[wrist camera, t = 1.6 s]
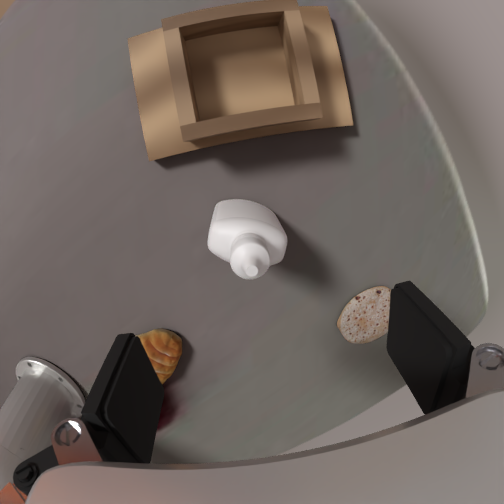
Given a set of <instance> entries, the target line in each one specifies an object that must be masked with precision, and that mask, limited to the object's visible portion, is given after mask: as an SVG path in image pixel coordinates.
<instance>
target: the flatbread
mask: <svg viewBox="0 0 504 504" xmlns="http://www.w3.org/2000/svg"><path fill="white" fill-rule="evenodd" d="M390 293H391V289H389V288H387V287H384V286H378V287H373V288H370V289H368V290H365V291H363V292H361V293H360V294H358V295H357V296H355V297H354V298H353V299H352V300H351V301H349V303H348V304H347V305H346V306H345V308H344V309H343V311H342V313H341V315H340V317H339V319H338V321H337V327H338V328H339V329H340V331H341V333H342V335H343V336H344V338H345V339H346V340H347V341H348V342H350V343H361V344H362V343H368V342H371V341H373V340H376V339H378V338H379V337H381V336H383V335H385V334H386V333H387V332H388V324H389V310H390Z"/></svg>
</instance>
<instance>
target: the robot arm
mask: <svg viewBox="0 0 504 504" xmlns="http://www.w3.org/2000/svg"><path fill="white" fill-rule="evenodd" d="M387 351H388V354H389V356H390V357H391V359H392V360H393V362H394V364H395V365H396V367H397V369H398V370H399V372H400V374H401V375H402V377H403V379H404V380H405V382H406V384H407V385H408V387H409V389H410V390H411V392H412V394H413V396H414V397H415V399H416V401H417V402H418V404H419V406H420V408H421V409H422V411H423V413H424V414H425V415H424V416H421V417H418V418H416V419H413V420H411V421H408V422H405V423H402V424H399V425H397V426H394V427H391V428H388V429H385V430H382V431H379V432H376V433H373V434H369V435H366V436H363V437H359V438H356V439H352V440H349V441H345V442H341V443H337V444H333V445H329V446H324V447H320V448H315V449H311V450H306V451H301V452H296V453H290V454H284V455H278V456H272V457H265V458H257V459H249V460H240V461H229V462H216V463H197V464H149V463H150V461H151V456H152V450H153V445H154V440H155V435H156V430H157V426H158V421H159V416H160V411H161V407H162V402H163V398H164V388H163V385H162V383H161V381H160V380H159V378H158V376H157V374H156V372H155V370H154V368H153V366H152V363H151V361H150V359H149V357H148V355H147V353H146V351H145V349H144V347H143V344H142V342H141V340H140V338H139V337H138V336H135V335H134V334H133V333H127V334H119V335H118V336H117V337H116V339H115V341H114V343H113V345H112V347H111V349H110V351H109V353H108V355H107V357H106V359H105V361H104V363H103V365H102V367H101V369H100V371H99V374H98V376H97V378H96V380H95V382H94V384H93V386H92V389H91V391H90V393H89V395H88V397H87V400H86V402H85V399H84V396H83V394H82V392H81V391H80V389H79V388H78V386H77V385H76V384H75V383H74V381H73V380H72V379H71V378H70V377H69V376H68V375H67V374H65V373H64V372H63V371H62V370H60V369H59V368H57V367H56V366H54V365H53V364H51V363H49V362H47V361H45V360H42V359H40V358H36V357H25V358H23V359H22V360H20V362H19V363H18V364H17V367H16V376H17V379H18V383H17V384H16V386H15V387H14V389H13V390H12V392H11V393H10V395H9V396H8V398H7V400H6V401H5V403H4V404H3V406H2V408H1V409H0V504H504V349H503V348H502V347H501V346H499V345H496V344H492V343H485V344H480V345H479V346H477V347H476V348H474V347H473V346H472V345H471V342H470V341H469V340H468V339H467V338H466V336H465V335H464V334H463V333H462V332H461V331H460V330H459V329H458V328H457V327H456V326H455V325H454V324H453V323H452V322H451V321H450V320H449V319H448V318H447V317H446V316H445V315H444V313H443V312H442V311H441V310H440V309H439V308H438V307H437V306H436V305H435V304H434V303H433V302H432V301H431V300H430V299H428V298H427V297H426V296H425V295H424V294H423V293H422V292H421V291H420V290H419V289H418V288H417V287H416V286H415V285H414V284H413V283H412V282H411V281H406V282H402V283H398V284H396V285H395V286H394V289H392V290H391V293H390V310H389V324H388V336H387ZM81 415H82V417H81V419H78V418H79V417H80V416H81Z"/></svg>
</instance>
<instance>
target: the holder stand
mask: <svg viewBox="0 0 504 504" xmlns="http://www.w3.org/2000/svg"><path fill="white" fill-rule="evenodd" d="M161 22H162V28H160V29H156V30H153V31H150V32H146V33H143V34H140V35H137V36H134V37H131V38H128V45H129V52H130V59H131V66H132V73H133V79H134V85H135V91H136V97H137V103H138V108H139V113H140V119H141V124H142V129H143V134H144V139H145V144H146V148H147V153H148V158H149V161H153V160H156V159H160V158H164V157H168V156H172V155H176V154H180V153H184V152H188V151H193V150H197V149H201V148H206V147H211V146H215V145H220V144H225V143H230V142H235V141H241V140H246V139H252V138H257V137H263V136H269V135H276V134H282V133H289V132H297V131H304V130H312V129H321V128H330V127H340V126H351V125H353V120H352V114H351V108H350V102H349V97H348V91H347V86H346V81H345V76H344V72H343V67H342V62H341V58H340V54H339V49H338V45H337V41H336V37H335V33H334V29H333V26H332V22H331V18H330V15H329V11H328V8H327V6H299V7H298V3H297V0H264V1H254V2H245V3H237V4H230V5H224V6H218V7H213V8H207V9H202V10H197V11H193V12H188V13H184V14H180V15H176V16H172V17H168V18H164V19H161Z"/></svg>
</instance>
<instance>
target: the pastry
mask: <svg viewBox="0 0 504 504" xmlns="http://www.w3.org/2000/svg"><path fill="white" fill-rule="evenodd" d="M135 336H138V337H139V338H140V340H141V342H142V344H143V347H144V349H145V351H146V353H147V355H148V357H149V359H150V361H151V363H152V366H153V368H154V370H155V372H156V374H157V376H158V378H159V380H160V381H161V383H162V384H163V383H164V382H165V381H166V380H167V379H168V378H169V377H170V376H171V375H172V373H173V372H174V370H175V368H176V366H177V363H178V360H179V358H180V356H181V355H182V340H181V338H180V337H179V336H178V335H177V334H175V333H174V332H172V331H169V330H166V329H162V328H159V329H154V330H152V331H149V332H147V333H143V334H140V335H135Z"/></svg>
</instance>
